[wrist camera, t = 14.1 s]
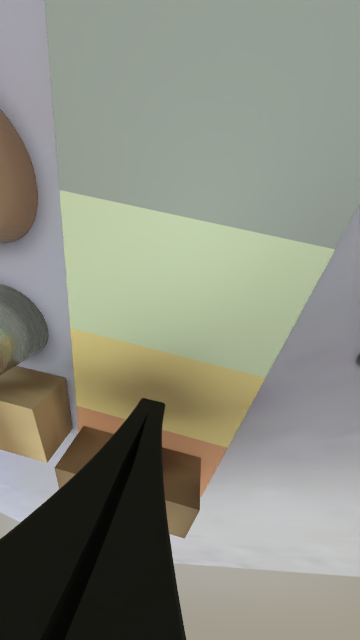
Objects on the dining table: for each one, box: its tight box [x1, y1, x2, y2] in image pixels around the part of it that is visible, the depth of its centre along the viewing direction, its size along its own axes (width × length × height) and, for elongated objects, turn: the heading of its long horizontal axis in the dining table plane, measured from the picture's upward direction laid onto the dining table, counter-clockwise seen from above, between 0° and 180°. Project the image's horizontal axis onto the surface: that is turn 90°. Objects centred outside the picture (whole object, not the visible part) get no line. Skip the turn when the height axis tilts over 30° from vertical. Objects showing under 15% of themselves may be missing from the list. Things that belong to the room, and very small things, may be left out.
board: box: [45, 0, 360, 497], centre depth 11 cm, size 12×28×1 cm, turn 168°
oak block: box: [0, 366, 73, 463], centre depth 13 cm, size 6×6×3 cm
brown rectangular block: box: [55, 426, 201, 538], centre depth 14 cm, size 10×5×3 cm, turn 79°
